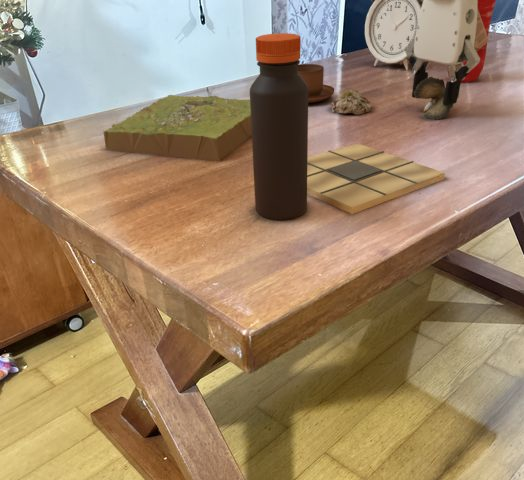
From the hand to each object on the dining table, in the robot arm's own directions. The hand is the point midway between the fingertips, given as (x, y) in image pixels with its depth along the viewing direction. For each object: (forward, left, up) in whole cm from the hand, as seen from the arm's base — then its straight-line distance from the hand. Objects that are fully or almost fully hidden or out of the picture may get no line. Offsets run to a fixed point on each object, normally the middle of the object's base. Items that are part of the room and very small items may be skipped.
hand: (433, 99), depth 102 cm
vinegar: (-16, +49, -3) cm, 52 cm away
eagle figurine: (-1, 0, -3) cm, 3 cm away
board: (-14, +34, -2) cm, 37 cm away
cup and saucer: (+25, +11, -3) cm, 27 cm away
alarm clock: (+34, -26, -3) cm, 43 cm away
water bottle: (+12, -24, -3) cm, 27 cm away
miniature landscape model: (+21, +41, -3) cm, 46 cm away
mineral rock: (+13, +9, -3) cm, 16 cm away
